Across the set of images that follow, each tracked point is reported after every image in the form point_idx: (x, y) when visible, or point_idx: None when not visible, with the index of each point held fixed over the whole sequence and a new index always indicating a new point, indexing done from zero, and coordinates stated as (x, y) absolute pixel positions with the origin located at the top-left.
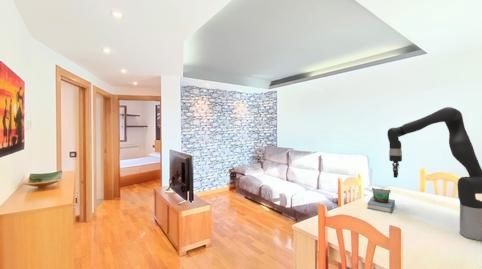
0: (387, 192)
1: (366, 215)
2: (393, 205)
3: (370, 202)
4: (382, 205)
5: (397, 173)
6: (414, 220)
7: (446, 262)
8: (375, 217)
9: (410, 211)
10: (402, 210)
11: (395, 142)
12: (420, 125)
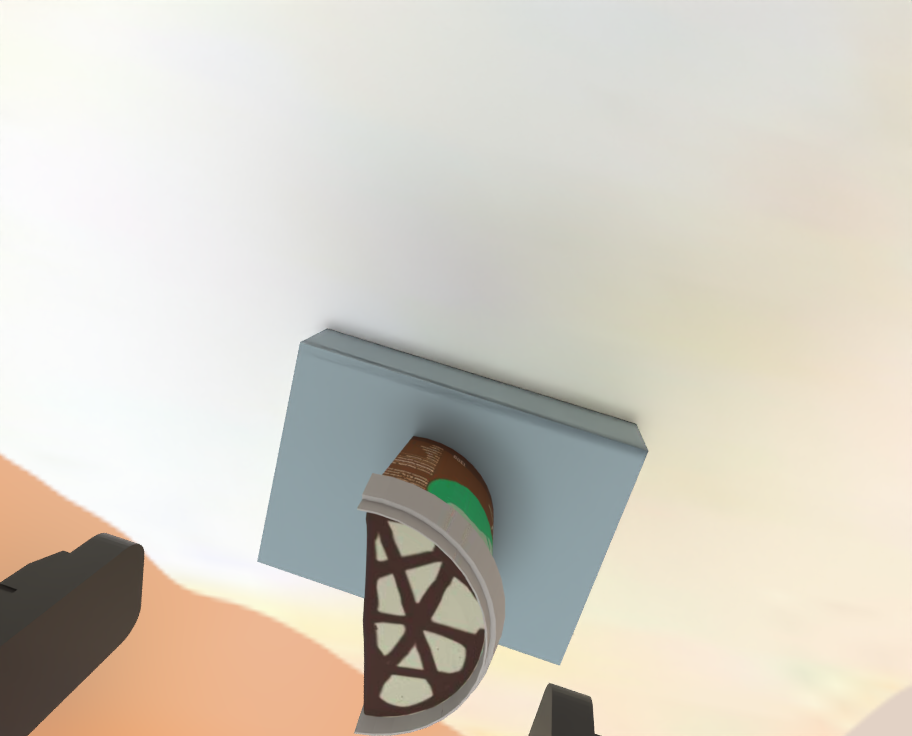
0: (478, 544)
1: (781, 666)
2: (447, 377)
3: (523, 630)
4: (593, 531)
5: (67, 608)
6: (799, 236)
7: None
8: (817, 600)
9: (487, 203)
10: (485, 285)
11: None
12: None
